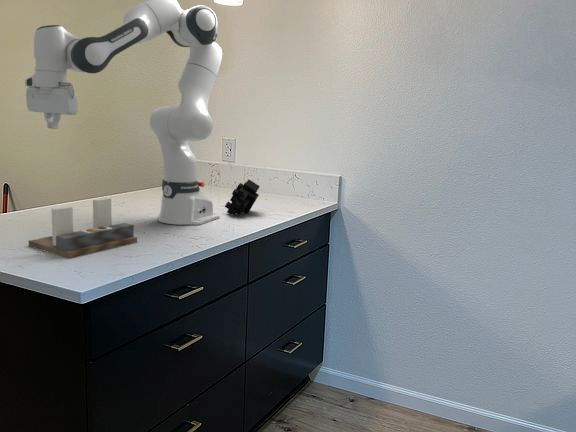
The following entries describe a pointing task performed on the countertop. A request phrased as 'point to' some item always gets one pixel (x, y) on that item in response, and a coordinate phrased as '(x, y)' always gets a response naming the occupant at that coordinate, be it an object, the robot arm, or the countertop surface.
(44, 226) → the countertop surface
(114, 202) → the countertop surface
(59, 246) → the console
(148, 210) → the countertop surface
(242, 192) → the toy
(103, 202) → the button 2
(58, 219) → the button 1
